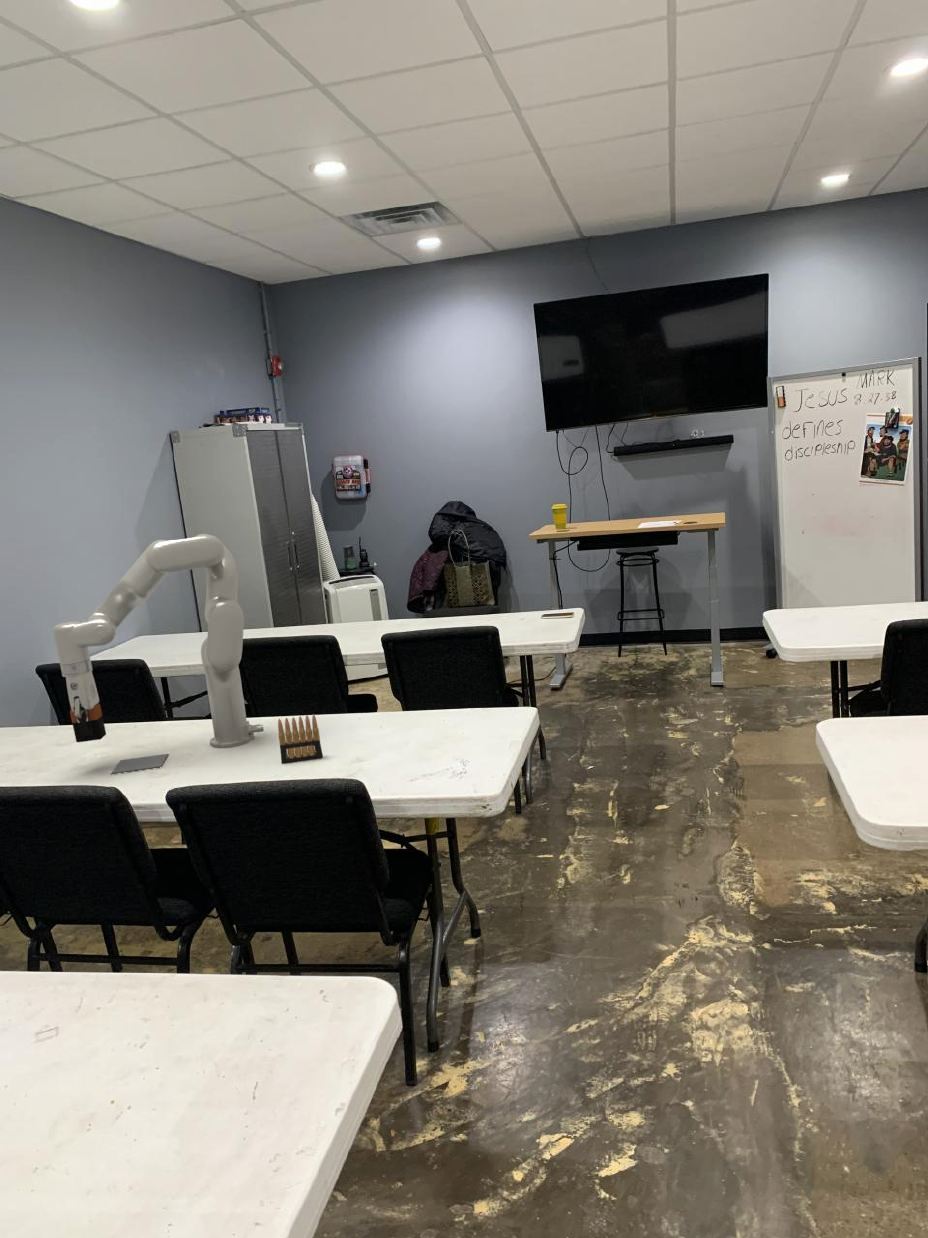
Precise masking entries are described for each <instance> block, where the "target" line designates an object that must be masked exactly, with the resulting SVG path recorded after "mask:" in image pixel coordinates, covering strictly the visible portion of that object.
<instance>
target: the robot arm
mask: <svg viewBox="0 0 928 1238" xmlns="http://www.w3.org/2000/svg"><path fill="white" fill-rule="evenodd" d="M203 568H204V570H205V573H206V593H205V596H206V597H205V606H204V607H205V608H204V618H205V621H206V623H207V637H206V638H205V639H204V640H203V642H202V644H201V647H200V656H201V657H200V658H201V662H202V667H203V672H204V676H205V682H206V689H207V695H208V702H209V709H210V715H211V720H212V721H211V722H212V729H213V734H214V735H213V737H212V738H210V740H209V745H210V746H211V747H214V748H230V747H231V748H232V747H235V746H241V745H244V744H247V743H249V742H251V741H253V740H254V739H255V733H264V731H265V730H264V728H265V727H264V725H263V724H260V723H258V724H250V721H249V720H247V714H246V706H245V701H244V700H245V699H244V694H243V687H242V686H243V685H242V679H241V673H240V668H239V665H240V662H241V660H242V655H243V641H244V640H243V639H244V629H245V626H244V624H245V618H244V612H243V609H242V607H241V606H240V604H239V603H238V592H239V591H238V589H239V587H238V586H239V584H238V583H239V576H238V567H237V563H236V560H235V558H234V557H233V554H232V553H231V552H230V550H229V549H228V548H227V546H226V545H225V544H223V542H222V541H221V540H220V539H219V538H218V537H217V536H215V535H211V534H208V533H200V534H197V535H195V536H194V537H187V538H181V539H180V538H179V539H172V540H169V539H168V540H165V539H157V540H155V541H152V543H150V544H149V545H148V546H147V548H146V549H144V551H143V552H142V554H141V555H140V556H138V559H136V561H135V562H134V563H133V565H132V566H131V567H130V568H129V569H128V570H127V572H126V573H125V574H124V575H123V576H122V577H121V579H120V580H119V581H118V582H117V583H116V584H115V586H114V588H113V589H112V591H110V592H109V594H108V595H107V596H106V597H105V598H104V599H103V601H101V603H100V604H99V606H98V607H97V608H96V609H95V610H94V612H92V613H91V615H90V616H89V617H88V619H87V620H86V621H83V622H80V621H77V620H76V621H67V622H62V623H59V624H56V625H55V626H53V630H52V633H53V638H54V642H55V648H56V651H57V652H56V653H57V657H58V661H59V666H60V670H61V676H62V677H63V678H65V681H66V689H67V695H68V701H69V705H70V710H72V711H73V712H75V716H76V717H77V721H78V725H79V729H80V734H81V737H85V736H91V735H93V734H94V732H93V727H92V723H91V720H90V721H89V712H88V710H91V709H92V708H93V707H94V706H95V705H96V704H99V703H100V697H99V693H98V692H99V691H98V690H97V684H96V681H95V677H94V674H93V665H92V661H91V656H90V650H89V647H102V646H107V645H109V644H110V643H112V642H113V641H114V639H115V637H116V632H117V631H116V630H117V629H118V627H119V626H120V625H121V624H122V623H123V621H125V619H126V618H127V617H128V616H129V614H131V613H132V611H133V610H135V609H136V608H137V607H138V606H140V605H142V604H143V603H145V602H146V601H147V600H148V599H149V598H150V597H151V595H152V594H153V592H155V590H156V589H157V588H158V586H159V585H160V584H161V583H162V581H163V580H164V579H165V578H166V577H167V576H168V574H169V573H173V572H175V573H176V572H182V571H183V572H185V571H190V570H195V569H203ZM81 708H85V710H82V711H81ZM84 712H85V715H84V714H82V713H84Z"/></svg>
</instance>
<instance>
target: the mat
mask: <svg viewBox="0 0 928 1238" xmlns="http://www.w3.org/2000/svg"><path fill="white" fill-rule="evenodd" d="M169 754H170V753H169V752H168V753H162V754H156V755H149V756H142V757H141V756H139V757H133V758H126V759H120V760H119V762H118V763H117V764H116V765H115V766H114V768H113V769H112V770H111V772H110V775H111V776H112V775H113V774H114V775H119V774H118V773H121V774H125V773H124V772H128V773H133V772H132V771H135V772H140V771H139V770H142V771H147V770H146V769H150V770H154V769H153V768H157V769H161V768H163V766H164V764H165V762H166V761H167V759H168V757H169ZM160 767H161V768H160Z"/></svg>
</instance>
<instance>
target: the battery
mask: <svg viewBox="0 0 928 1238" xmlns="http://www.w3.org/2000/svg"><path fill="white" fill-rule="evenodd" d="M82 710H85V708H81V711H82ZM88 712H89V721H90V720H91V723H92V727H93V732H94V734H93V735H91V736H85V737H81V734H80V729H79V725H78V721H77V717H76V716H75V712H73V711H72V709H70V711H69V714H70V718H71V723H72V724H71V725H72V728H73V733H74V737H75V742H76V743H84V742H92V741H100V740H101V739H103V738H104V737H105V736H106V735H107V732H106V726H105V722H104V718H103V712H102V708H101V704H100V703H98V704H96V705H95V706H94V707H93V708H92V709H91V710H88ZM82 714H84V715H85V712H84V713H82Z"/></svg>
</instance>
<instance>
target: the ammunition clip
mask: <svg viewBox="0 0 928 1238" xmlns="http://www.w3.org/2000/svg"><path fill="white" fill-rule="evenodd" d="M277 721H278V722H277V728H278V729H277V730H278V743H279V750H280V761H281V765H285V764H287V765H288V764H293V763H300V762H301V763H302V762H309V761H314V760H323V758H324V756H323V751H322V744H321V738H320V737H321V736H320V729H319V728H318V721H317V717H316V716H315V714H314V713H313V714H312V717H311V721H310V718H309V716H308V715H307V714H306V715H305V722H303V718H302V716H300V715H299V717H298V725H297V721H296V718H295V717H294V716H293V717H292V719H291V724H290V721H289V719H288V718H287V717H285V719H284V726H283V722H282V720H281V719H280V718H278V720H277ZM304 723H305V725H304ZM311 723H312V725H311ZM290 725H291V726H290ZM311 726H312V727H311ZM284 727H285V728H284ZM284 729H285V731H284Z"/></svg>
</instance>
